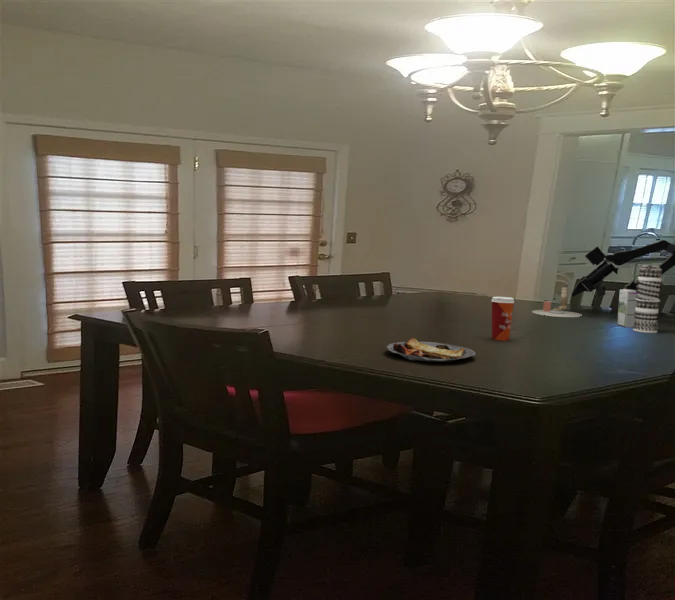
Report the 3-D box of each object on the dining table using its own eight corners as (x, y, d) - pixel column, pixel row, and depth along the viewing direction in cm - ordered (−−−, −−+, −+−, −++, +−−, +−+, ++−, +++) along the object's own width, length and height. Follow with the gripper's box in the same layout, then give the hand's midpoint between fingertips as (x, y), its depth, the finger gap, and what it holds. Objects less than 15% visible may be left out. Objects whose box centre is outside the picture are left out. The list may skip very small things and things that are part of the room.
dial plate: (589, 318, 280) (589, 315, 279) (540, 316, 280) (540, 313, 280) (572, 311, 300) (572, 308, 300) (526, 309, 301) (526, 306, 300)
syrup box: (638, 327, 258) (641, 290, 256) (624, 327, 257) (627, 290, 255) (629, 325, 263) (632, 289, 262) (616, 324, 262) (619, 288, 261)
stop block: (550, 312, 295) (551, 302, 295) (544, 311, 295) (545, 302, 295) (548, 311, 298) (549, 301, 298) (543, 311, 298) (543, 301, 298)
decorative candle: (638, 332, 244) (644, 265, 241) (627, 328, 254) (633, 263, 251) (662, 333, 245) (669, 266, 242) (650, 329, 254) (657, 264, 251)
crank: (559, 310, 288) (561, 289, 287) (553, 310, 290) (554, 288, 289) (567, 308, 298) (569, 287, 297) (561, 307, 300) (562, 287, 299)
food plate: (370, 354, 186) (371, 342, 186) (412, 344, 205) (413, 333, 204) (448, 371, 171) (449, 358, 171) (487, 359, 190) (488, 347, 189)
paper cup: (505, 342, 214) (508, 299, 212) (484, 338, 219) (487, 297, 217) (516, 339, 220) (519, 298, 218) (495, 336, 225) (498, 295, 223)
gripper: (614, 288, 282) (584, 311, 286) (611, 285, 299) (583, 307, 304) (596, 269, 283) (567, 292, 288) (594, 266, 301) (567, 289, 306)
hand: (571, 295), depth 296 cm, fingers closed
